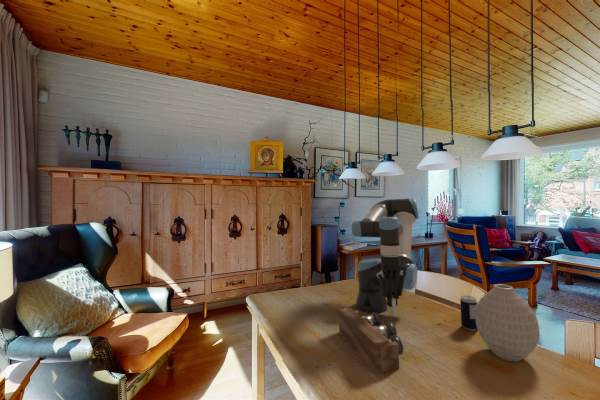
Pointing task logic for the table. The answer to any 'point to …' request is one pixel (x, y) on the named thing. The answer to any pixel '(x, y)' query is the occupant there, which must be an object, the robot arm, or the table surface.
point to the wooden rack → (369, 341)
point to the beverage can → (468, 312)
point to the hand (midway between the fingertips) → (392, 314)
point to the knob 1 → (374, 319)
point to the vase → (507, 323)
